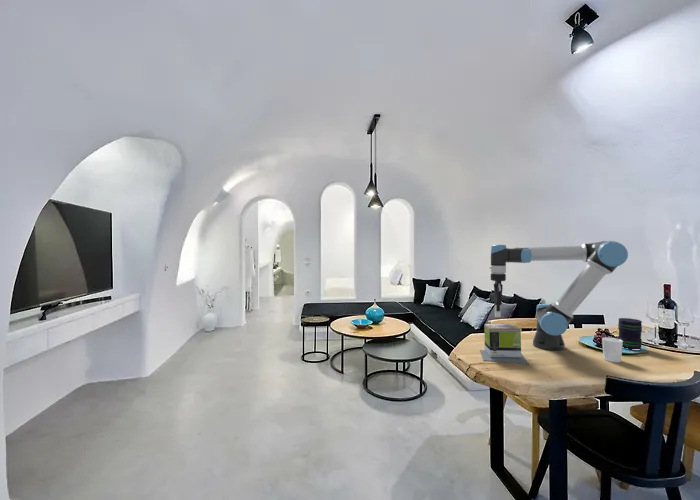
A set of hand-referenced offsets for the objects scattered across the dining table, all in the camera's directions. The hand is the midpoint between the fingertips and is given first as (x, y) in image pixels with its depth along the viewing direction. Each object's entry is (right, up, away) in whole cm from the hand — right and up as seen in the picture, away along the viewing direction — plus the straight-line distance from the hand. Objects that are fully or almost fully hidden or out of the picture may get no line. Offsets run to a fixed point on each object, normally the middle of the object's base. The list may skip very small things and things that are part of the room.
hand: (497, 316), depth 186 cm
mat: (-3, -17, -14) cm, 22 cm away
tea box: (-3, -17, -11) cm, 21 cm away
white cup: (+47, -17, -20) cm, 54 cm away
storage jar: (+70, -17, -1) cm, 72 cm away
